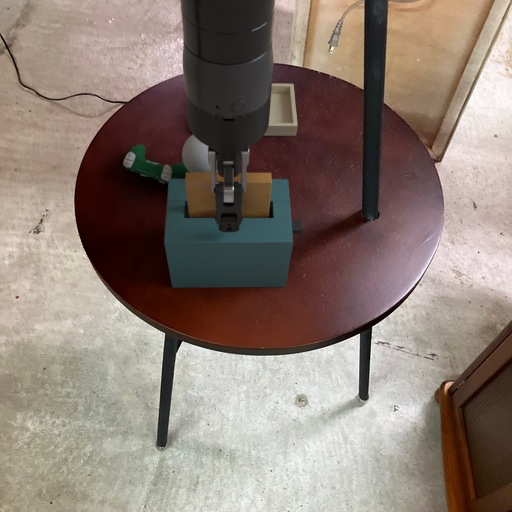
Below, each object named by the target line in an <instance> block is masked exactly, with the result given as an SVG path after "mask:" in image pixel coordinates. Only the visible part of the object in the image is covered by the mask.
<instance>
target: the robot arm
mask: <svg viewBox="0 0 512 512" xmlns="http://www.w3.org/2000/svg"><path fill="white" fill-rule="evenodd" d="M179 3H180V15H181V16H180V17H181V26H182V37H183V39H182V40H183V45H182V58H181V59H182V73H183V74H182V75H183V85H184V86H183V87H184V96H185V108H186V117H187V118H186V119H187V125H188V129H189V130H190V133H191V134H192V135H194V136H195V137H196V138H197V139H198V140H199V141H200V142H202V143H203V144H205V145H207V146H208V163H209V165H210V166H211V190H212V192H213V193H215V200H216V205H215V210H216V216H215V221H216V223H217V224H219V230H220V231H222V232H236V231H238V230H239V224H241V221H243V216H242V194H243V193H244V192H245V191H246V173H247V167H248V166H249V164H250V147H251V146H253V145H255V144H256V143H257V142H258V141H260V140H261V139H263V137H264V136H263V135H264V134H265V133H266V131H267V128H268V125H269V117H270V104H271V91H272V84H273V76H274V64H275V63H274V62H275V61H274V49H273V35H274V22H275V10H276V9H275V7H276V0H180V1H179ZM216 160H217V172H218V174H219V175H220V176H221V177H224V182H220V181H218V180H217V172H216ZM239 173H241V179H240V180H239V181H238V182H234V177H237V176H238V175H239Z"/></svg>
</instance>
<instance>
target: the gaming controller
mask: <svg viewBox="0 0 512 512" xmlns="http://www.w3.org/2000/svg"><path fill="white" fill-rule="evenodd" d="M122 166H123V168H124V169H126V171H129V172H132V173H136V174H139V176H141V177H144V178H145V177H148V178H151V179H154V180H157V181H158V182H159V183H162V184H167V185H168V183H169V179H185V178H186V172H189V171H188V170H187V168H186V167H185V165H184V162H183V160H182V161H180V162H177V163H175V164H171V165H170V164H161V163H159V162H156V161H152V160H150V159H146V147H145V145H144V144H142V143H141V144H139V143H138V144H135V145H133V146H132V148H130V149H129V151H128V152H127V154H126V155H125V157H124V158H123V161H122Z"/></svg>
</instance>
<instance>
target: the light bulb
mask: <svg viewBox="0 0 512 512" xmlns="http://www.w3.org/2000/svg"><path fill="white" fill-rule="evenodd" d="M181 159H182V161H183V162H184V165H185V167H186V168H187V170H188V171H189V172H211V166H210V165H209V163H208V146H207V145H205V144H203V143H202V142H200V141H199V140H198V139H197V138H196V137H195V136H194V135H193V134H192V135H190V136H189V137H188V138H187V139H186V140H185V142H184V144H183V146H182V150H181ZM216 172H217V160H216ZM217 173H218V172H217Z"/></svg>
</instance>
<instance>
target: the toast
mask: <svg viewBox="0 0 512 512" xmlns="http://www.w3.org/2000/svg"><path fill="white" fill-rule="evenodd" d="M184 179H185V184H186V193H187V203H188V212H189V218H215V216H216V210H215V205H216V200H215V193H213V192H212V190H211V172H186V178H184ZM240 179H241V172H240V173H239V175H238V176H237V177H234V182H238V181H239V180H240ZM272 179H273V178H272V172H246V191H245V192H244V193H243V194H242V216H243V218H268V217H269V207H270V197H271V186H272ZM217 180H218V181H220V182H224V177H221V176H220V175H219V174H218V173H217Z"/></svg>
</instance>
